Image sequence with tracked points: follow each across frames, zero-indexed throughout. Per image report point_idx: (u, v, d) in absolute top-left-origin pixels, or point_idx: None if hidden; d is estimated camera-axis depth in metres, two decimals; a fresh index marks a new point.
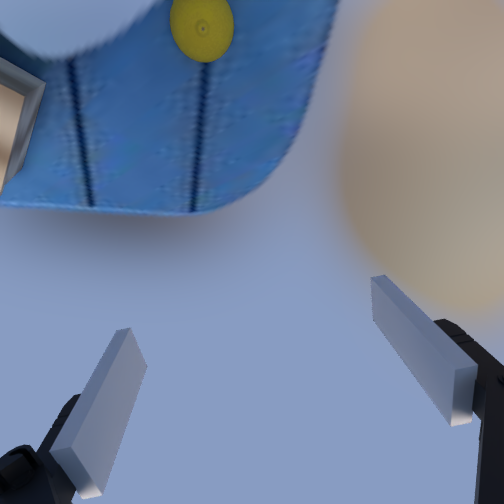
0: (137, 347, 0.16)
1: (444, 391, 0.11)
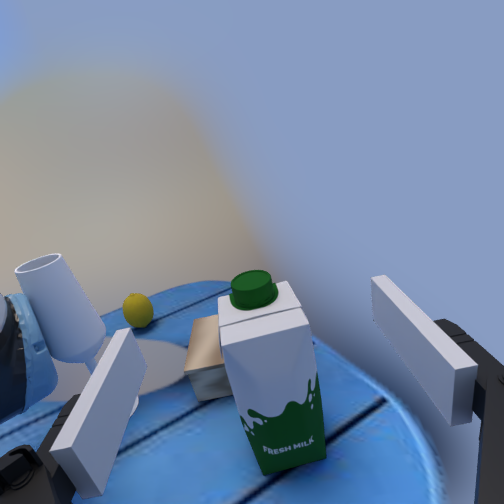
0: (137, 347, 0.16)
1: (444, 391, 0.11)
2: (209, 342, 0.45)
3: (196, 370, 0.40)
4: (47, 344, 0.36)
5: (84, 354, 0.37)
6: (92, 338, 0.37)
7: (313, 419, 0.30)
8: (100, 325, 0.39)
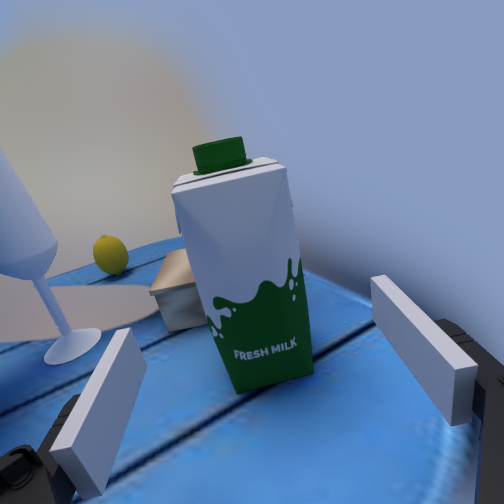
0: (137, 347, 0.16)
1: (444, 391, 0.11)
2: (182, 267, 0.39)
3: (163, 290, 0.34)
4: None
5: (27, 264, 0.31)
6: (37, 245, 0.32)
7: (296, 317, 0.24)
8: (49, 234, 0.33)
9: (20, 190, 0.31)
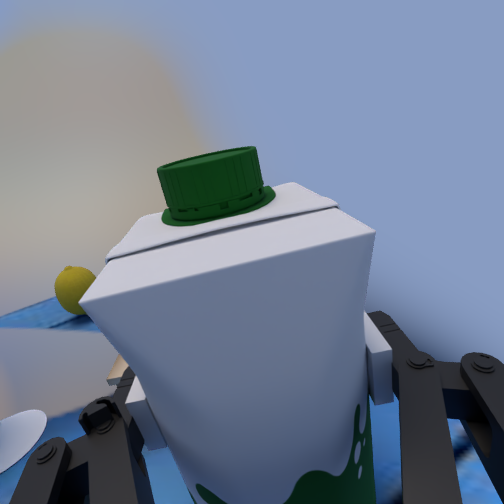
0: None
1: (369, 374, 0.12)
2: None
3: None
4: None
5: None
6: None
7: (361, 501, 0.12)
8: None
9: None
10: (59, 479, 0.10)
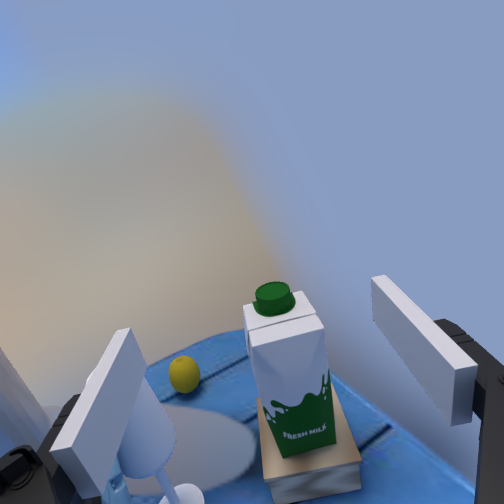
0: (137, 347, 0.16)
1: (444, 391, 0.11)
2: None
3: (278, 478, 0.36)
4: (119, 462, 0.32)
5: (158, 469, 0.33)
6: (167, 450, 0.33)
7: (326, 409, 0.35)
8: (172, 430, 0.35)
9: (153, 401, 0.32)
10: None
